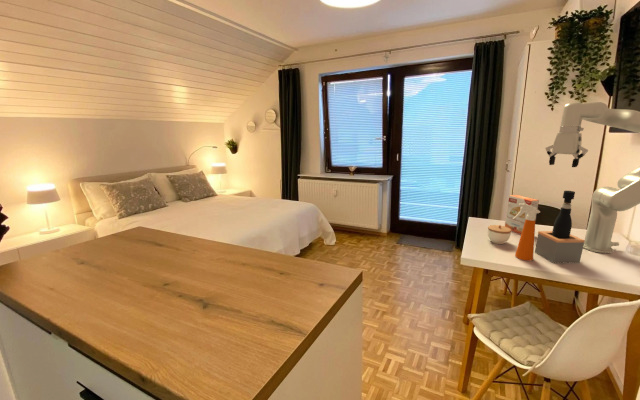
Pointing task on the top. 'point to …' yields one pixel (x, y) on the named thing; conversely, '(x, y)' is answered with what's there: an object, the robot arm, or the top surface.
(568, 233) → the black water bottle
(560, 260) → the sleeve
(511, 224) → the cracker box
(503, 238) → the lidded jar
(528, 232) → the spray bottle
